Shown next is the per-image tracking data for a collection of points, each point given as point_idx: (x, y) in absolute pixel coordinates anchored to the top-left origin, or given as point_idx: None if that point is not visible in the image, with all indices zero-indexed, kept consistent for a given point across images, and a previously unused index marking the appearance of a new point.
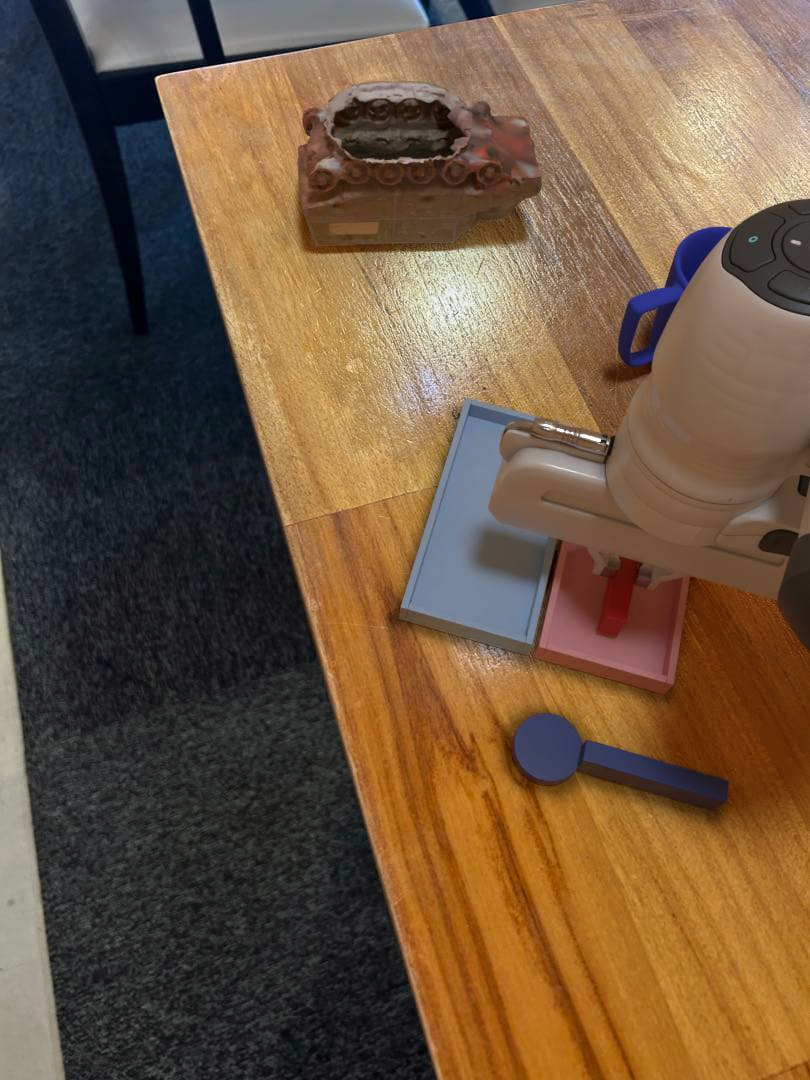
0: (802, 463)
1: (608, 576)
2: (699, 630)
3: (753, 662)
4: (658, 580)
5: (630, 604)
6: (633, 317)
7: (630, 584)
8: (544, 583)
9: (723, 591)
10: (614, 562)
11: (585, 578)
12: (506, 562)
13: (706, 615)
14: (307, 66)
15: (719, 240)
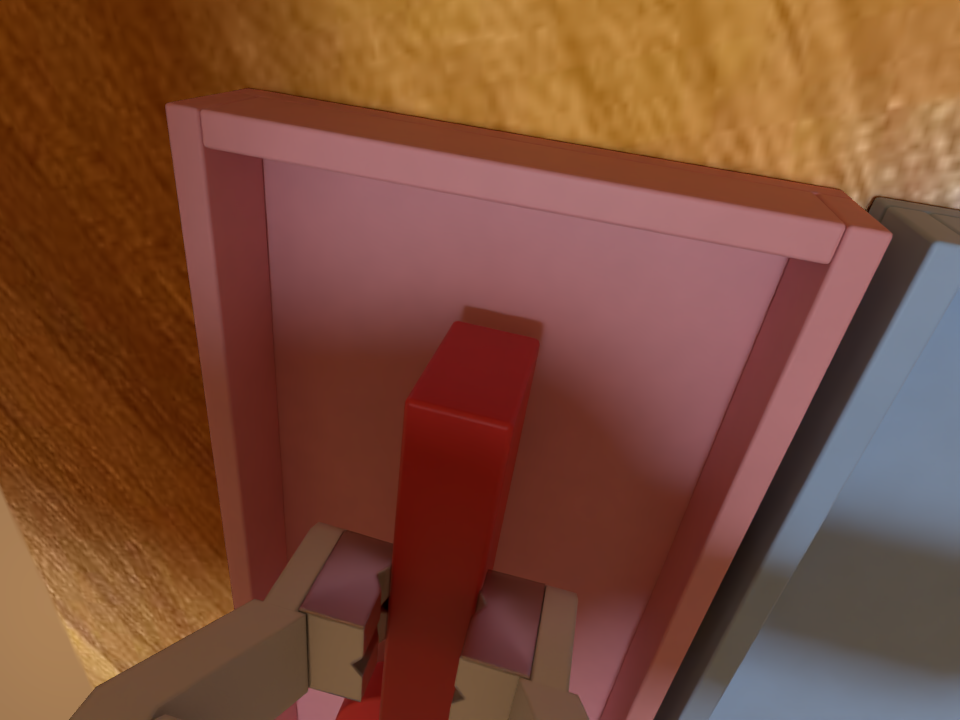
0: None
1: (505, 588)
2: (193, 355)
3: (14, 262)
4: (269, 609)
5: None
6: None
7: (406, 560)
8: (789, 538)
9: (163, 468)
10: (483, 684)
11: (580, 517)
12: (897, 578)
13: (187, 401)
14: None
15: None
